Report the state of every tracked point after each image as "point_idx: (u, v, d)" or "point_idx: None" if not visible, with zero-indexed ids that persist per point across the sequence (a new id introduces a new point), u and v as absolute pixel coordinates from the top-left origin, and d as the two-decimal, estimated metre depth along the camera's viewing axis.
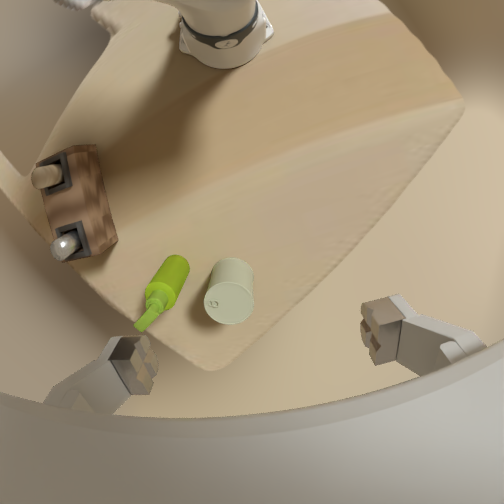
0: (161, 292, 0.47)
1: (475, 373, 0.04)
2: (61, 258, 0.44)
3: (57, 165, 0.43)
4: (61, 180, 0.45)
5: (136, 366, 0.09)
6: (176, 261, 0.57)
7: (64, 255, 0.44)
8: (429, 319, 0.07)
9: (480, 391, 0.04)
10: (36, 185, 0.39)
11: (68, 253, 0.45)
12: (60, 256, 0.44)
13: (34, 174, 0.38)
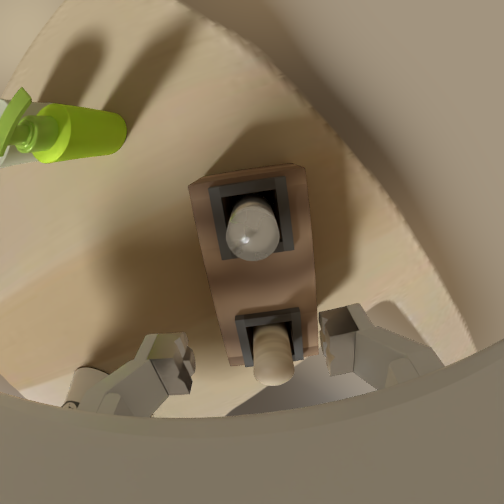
0: None
1: (475, 373, 0.04)
2: (246, 215, 0.21)
3: None
4: (259, 327, 0.31)
5: (178, 364, 0.09)
6: None
7: (233, 223, 0.21)
8: (385, 332, 0.07)
9: (480, 391, 0.04)
10: (282, 363, 0.26)
11: (230, 220, 0.22)
12: (248, 221, 0.21)
13: (283, 377, 0.27)
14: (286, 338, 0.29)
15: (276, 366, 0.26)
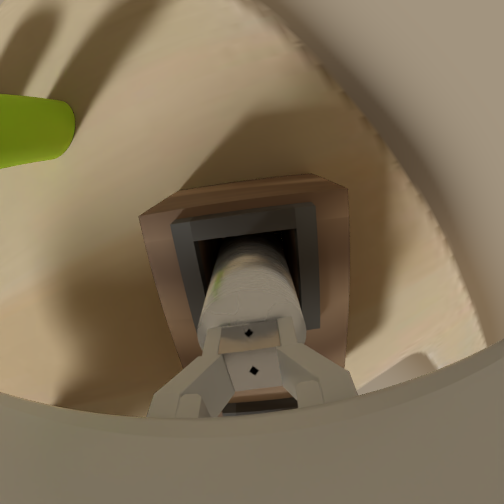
0: None
1: (475, 373, 0.04)
2: (239, 301, 0.10)
3: None
4: None
5: None
6: None
7: (211, 314, 0.10)
8: (305, 350, 0.08)
9: (480, 391, 0.04)
10: None
11: (207, 299, 0.11)
12: (242, 312, 0.10)
13: None
14: None
15: None
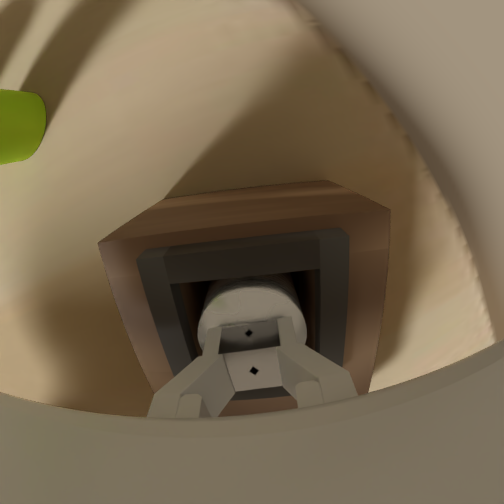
0: None
1: (475, 373, 0.04)
2: (240, 301, 0.10)
3: None
4: None
5: None
6: None
7: (212, 314, 0.10)
8: (305, 350, 0.08)
9: (480, 391, 0.04)
10: None
11: (207, 299, 0.11)
12: (242, 312, 0.10)
13: None
14: None
15: None
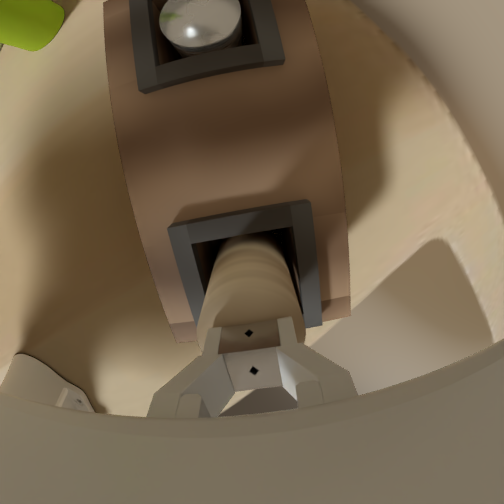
0: None
1: (475, 373, 0.04)
2: None
3: None
4: (224, 247, 0.15)
5: None
6: (16, 46, 0.14)
7: (171, 2, 0.09)
8: (305, 350, 0.08)
9: (480, 391, 0.04)
10: (271, 309, 0.10)
11: None
12: None
13: None
14: (282, 263, 0.13)
15: (256, 319, 0.10)
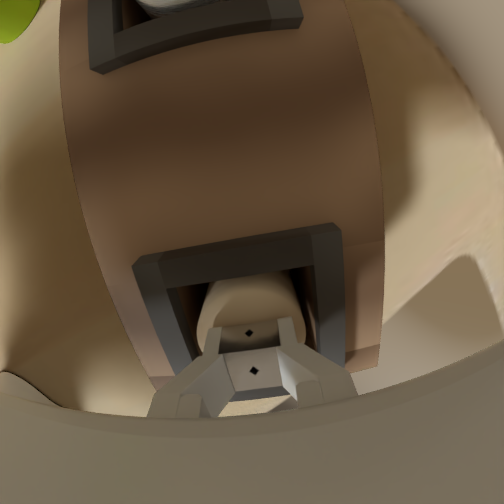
0: None
1: (475, 373, 0.04)
2: None
3: None
4: None
5: None
6: None
7: None
8: (306, 350, 0.08)
9: (480, 391, 0.04)
10: (272, 309, 0.10)
11: None
12: None
13: None
14: None
15: (256, 319, 0.10)
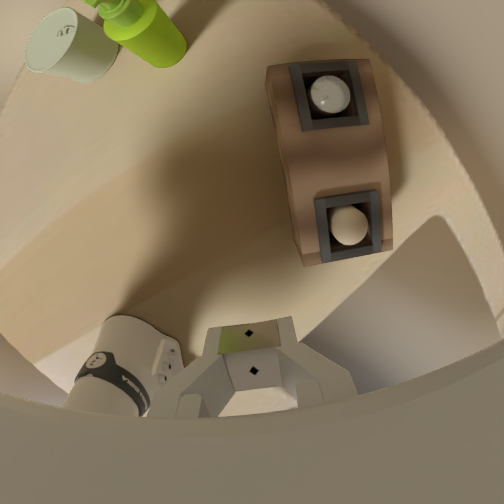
0: (115, 25, 0.17)
1: (475, 373, 0.04)
2: (325, 79, 0.23)
3: None
4: None
5: None
6: (151, 62, 0.28)
7: (316, 84, 0.24)
8: (305, 350, 0.08)
9: (480, 391, 0.04)
10: (357, 216, 0.28)
11: (311, 85, 0.25)
12: (327, 83, 0.24)
13: (358, 234, 0.29)
14: None
15: (352, 219, 0.29)
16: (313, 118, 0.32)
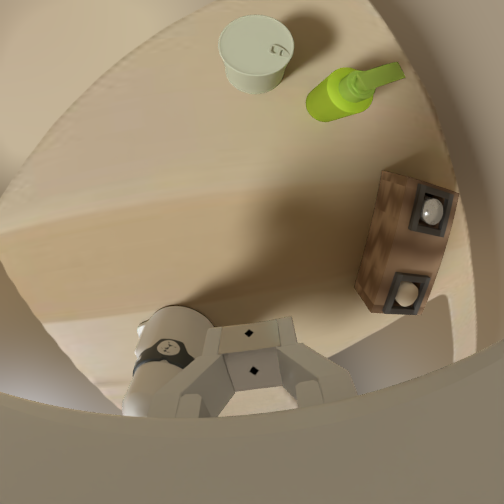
0: (344, 96, 0.27)
1: (475, 373, 0.04)
2: (435, 201, 0.35)
3: None
4: None
5: None
6: (317, 115, 0.38)
7: (429, 202, 0.35)
8: (305, 350, 0.08)
9: (480, 391, 0.04)
10: (414, 290, 0.40)
11: (424, 200, 0.36)
12: (434, 204, 0.35)
13: (410, 301, 0.41)
14: None
15: (411, 291, 0.40)
16: None
